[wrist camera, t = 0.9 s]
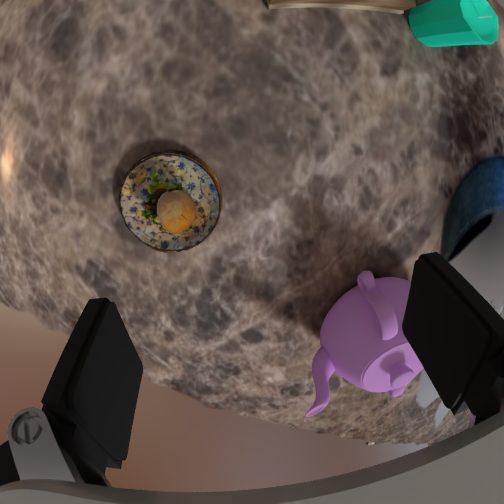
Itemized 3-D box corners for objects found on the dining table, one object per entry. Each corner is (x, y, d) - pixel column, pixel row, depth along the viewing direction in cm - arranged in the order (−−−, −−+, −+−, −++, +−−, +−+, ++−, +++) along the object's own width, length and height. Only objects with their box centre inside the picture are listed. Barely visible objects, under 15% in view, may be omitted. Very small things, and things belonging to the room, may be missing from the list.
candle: (431, 55, 28) (498, 55, 17) (400, 20, 26) (462, 4, 15) (451, 31, 26) (516, 26, 15) (422, -4, 24) (483, -21, 13)
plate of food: (125, 145, 32) (101, 159, 25) (229, 156, 33) (230, 171, 27) (123, 241, 37) (104, 272, 30) (215, 251, 39) (213, 286, 32)
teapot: (262, 296, 42) (277, 375, 30) (407, 234, 40) (464, 291, 27) (308, 382, 52) (325, 447, 40) (418, 335, 50) (452, 390, 38)
